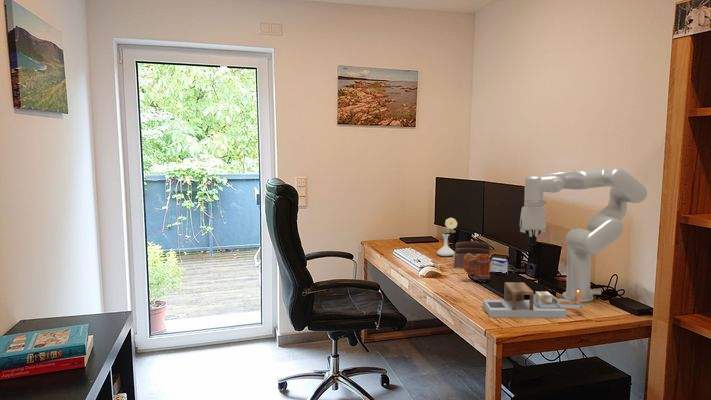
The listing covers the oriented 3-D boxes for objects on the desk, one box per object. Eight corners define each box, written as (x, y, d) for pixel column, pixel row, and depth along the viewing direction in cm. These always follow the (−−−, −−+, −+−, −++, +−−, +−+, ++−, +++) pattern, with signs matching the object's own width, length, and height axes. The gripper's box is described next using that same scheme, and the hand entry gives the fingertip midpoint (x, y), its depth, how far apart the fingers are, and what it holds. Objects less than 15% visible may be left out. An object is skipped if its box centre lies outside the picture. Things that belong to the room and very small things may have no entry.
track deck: (554, 306, 191) (554, 300, 191) (566, 318, 178) (566, 310, 178) (482, 306, 193) (483, 299, 193) (489, 317, 180) (490, 310, 180)
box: (490, 274, 245) (490, 258, 244) (493, 272, 248) (493, 257, 247) (504, 276, 240) (504, 260, 239) (507, 274, 243) (508, 259, 242)
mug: (488, 279, 234) (488, 251, 233) (493, 283, 226) (494, 254, 225) (460, 280, 234) (460, 251, 232) (464, 284, 226) (465, 255, 224)
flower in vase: (435, 257, 287) (435, 218, 284) (437, 253, 297) (437, 216, 295) (456, 258, 283) (456, 219, 280) (457, 254, 294) (458, 216, 291)
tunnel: (523, 299, 192) (523, 282, 191) (533, 310, 179) (533, 291, 178) (504, 299, 192) (504, 282, 191) (512, 310, 179) (513, 291, 179)
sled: (576, 301, 188) (577, 287, 187) (585, 308, 180) (585, 293, 179) (532, 301, 189) (532, 286, 188) (538, 307, 181) (538, 292, 180)
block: (547, 303, 187) (547, 291, 187) (551, 307, 182) (552, 295, 182) (535, 303, 188) (535, 291, 187) (539, 307, 183) (539, 295, 182)
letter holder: (455, 263, 269) (455, 240, 268) (489, 265, 263) (490, 242, 262) (454, 267, 260) (454, 243, 258) (489, 269, 254) (490, 245, 253)
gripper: (547, 203, 199) (546, 243, 201) (513, 203, 200) (512, 243, 202) (554, 205, 191) (552, 247, 193) (518, 205, 192) (517, 247, 194)
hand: (532, 245), depth 198 cm, fingers closed
